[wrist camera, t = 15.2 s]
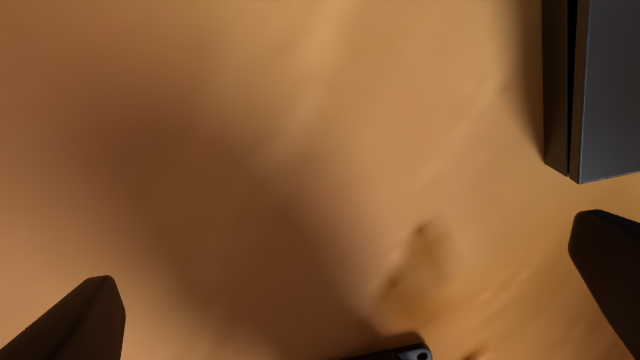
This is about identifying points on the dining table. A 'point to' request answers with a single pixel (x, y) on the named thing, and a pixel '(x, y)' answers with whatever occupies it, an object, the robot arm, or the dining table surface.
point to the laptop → (558, 80)
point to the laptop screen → (606, 91)
